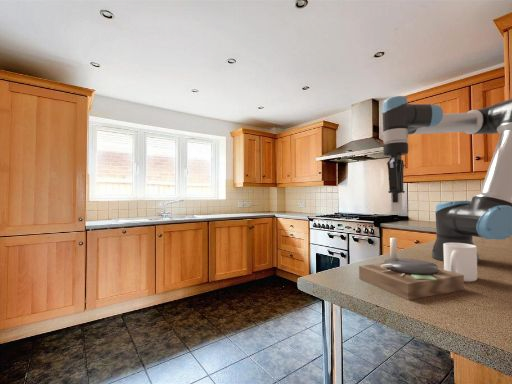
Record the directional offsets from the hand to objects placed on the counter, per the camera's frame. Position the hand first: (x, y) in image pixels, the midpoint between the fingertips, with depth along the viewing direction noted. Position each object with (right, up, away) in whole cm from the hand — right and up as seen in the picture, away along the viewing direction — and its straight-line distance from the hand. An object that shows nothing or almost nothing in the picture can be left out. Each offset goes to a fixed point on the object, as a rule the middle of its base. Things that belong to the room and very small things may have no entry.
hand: (397, 211), depth 90 cm
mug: (+15, -20, -9) cm, 26 cm away
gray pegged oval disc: (-3, -16, -11) cm, 20 cm away
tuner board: (-3, -20, -12) cm, 24 cm away
